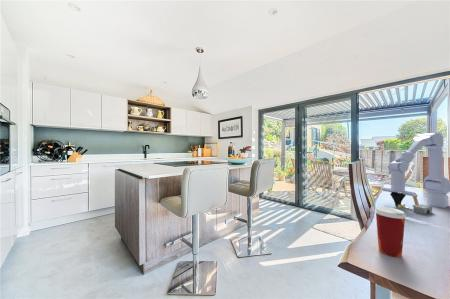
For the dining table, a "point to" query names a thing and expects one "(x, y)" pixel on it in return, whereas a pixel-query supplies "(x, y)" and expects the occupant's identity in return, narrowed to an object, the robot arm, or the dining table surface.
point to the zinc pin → (405, 207)
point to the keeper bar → (416, 200)
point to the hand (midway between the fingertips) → (397, 206)
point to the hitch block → (422, 209)
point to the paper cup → (390, 230)
